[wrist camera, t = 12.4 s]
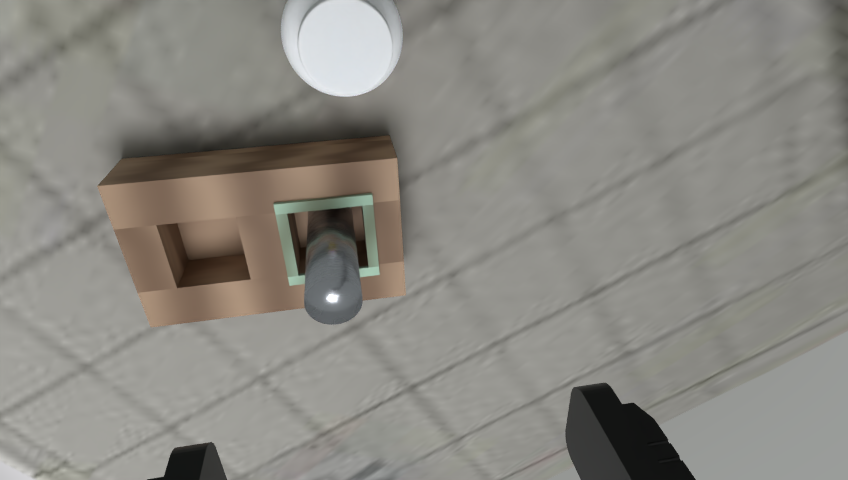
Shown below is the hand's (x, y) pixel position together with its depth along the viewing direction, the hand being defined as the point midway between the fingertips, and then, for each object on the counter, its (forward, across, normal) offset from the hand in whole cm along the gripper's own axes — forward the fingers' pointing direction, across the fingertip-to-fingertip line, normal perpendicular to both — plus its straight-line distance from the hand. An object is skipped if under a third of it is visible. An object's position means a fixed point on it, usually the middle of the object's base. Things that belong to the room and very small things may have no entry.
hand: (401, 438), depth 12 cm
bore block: (+32, +7, +10) cm, 34 cm away
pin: (+31, +2, +10) cm, 33 cm away
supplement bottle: (+32, 0, -5) cm, 33 cm away
